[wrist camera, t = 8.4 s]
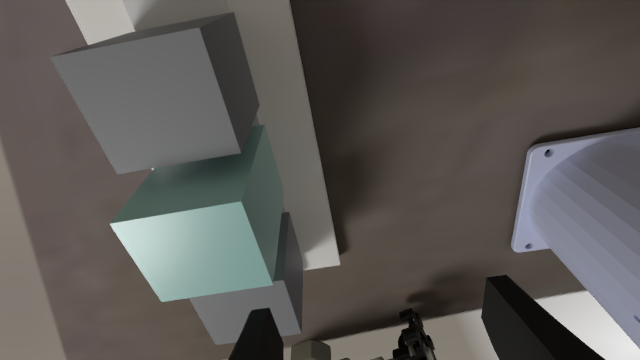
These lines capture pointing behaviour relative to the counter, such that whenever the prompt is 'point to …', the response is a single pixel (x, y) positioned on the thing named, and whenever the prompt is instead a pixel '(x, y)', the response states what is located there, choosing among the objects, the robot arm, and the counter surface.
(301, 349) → the valve
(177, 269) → the block
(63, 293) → the counter surface
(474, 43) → the counter surface
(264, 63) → the rail plate
